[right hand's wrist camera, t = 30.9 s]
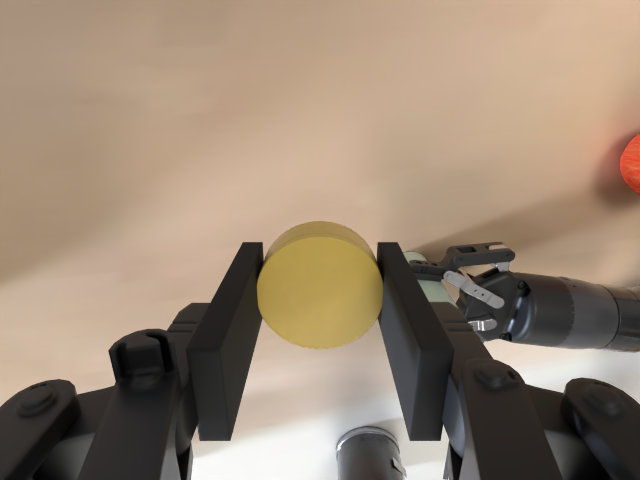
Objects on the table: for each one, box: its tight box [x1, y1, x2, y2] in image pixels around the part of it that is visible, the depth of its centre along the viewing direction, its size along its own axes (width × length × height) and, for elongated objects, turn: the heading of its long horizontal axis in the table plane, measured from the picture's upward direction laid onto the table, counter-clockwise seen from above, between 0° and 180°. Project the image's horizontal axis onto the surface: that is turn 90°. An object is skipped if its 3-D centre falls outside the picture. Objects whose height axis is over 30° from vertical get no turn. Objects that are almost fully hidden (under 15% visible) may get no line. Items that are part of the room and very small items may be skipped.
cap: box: [257, 221, 383, 349], centre depth 14 cm, size 4×4×2 cm
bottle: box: [403, 252, 459, 309], centre depth 37 cm, size 5×5×18 cm
